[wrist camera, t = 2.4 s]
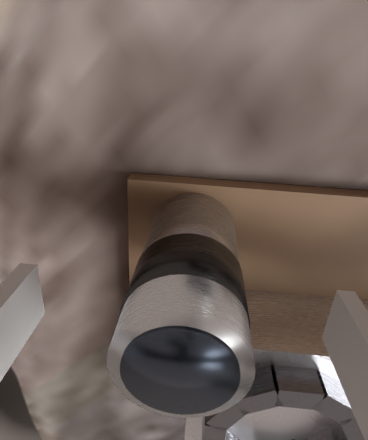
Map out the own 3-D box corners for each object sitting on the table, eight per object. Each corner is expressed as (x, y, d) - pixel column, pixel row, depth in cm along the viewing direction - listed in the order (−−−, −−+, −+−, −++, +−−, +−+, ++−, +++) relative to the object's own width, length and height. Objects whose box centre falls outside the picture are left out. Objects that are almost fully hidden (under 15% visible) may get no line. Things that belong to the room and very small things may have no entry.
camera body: (196, 283, 22) (191, 366, 16) (429, 304, 21) (512, 397, 15) (186, 395, 27) (180, 489, 21) (374, 414, 26) (422, 516, 20)
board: (131, 172, 20) (127, 179, 19) (471, 198, 19) (487, 207, 18) (134, 384, 28) (131, 396, 27) (371, 407, 28) (377, 422, 26)
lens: (152, 188, 19) (98, 309, 10) (240, 195, 19) (270, 324, 10) (151, 262, 21) (107, 416, 12) (230, 269, 21) (246, 430, 12)
